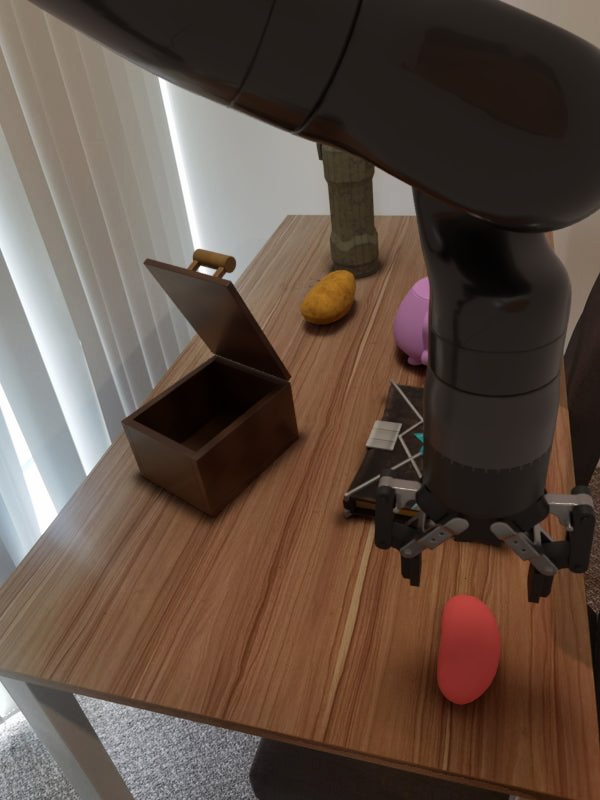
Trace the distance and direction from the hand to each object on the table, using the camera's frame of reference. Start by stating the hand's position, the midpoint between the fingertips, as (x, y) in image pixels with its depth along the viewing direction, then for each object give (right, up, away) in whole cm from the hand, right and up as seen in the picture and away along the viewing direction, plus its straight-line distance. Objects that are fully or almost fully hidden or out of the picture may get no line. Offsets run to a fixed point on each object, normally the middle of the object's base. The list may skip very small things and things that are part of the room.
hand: (473, 584), depth 46 cm
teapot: (+8, +22, +45) cm, 50 cm away
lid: (-23, +23, +23) cm, 40 cm away
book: (+3, +6, +26) cm, 27 cm away
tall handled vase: (-2, +39, +70) cm, 80 cm away
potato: (-8, +28, +57) cm, 64 cm away
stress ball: (+1, -9, +7) cm, 11 cm away
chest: (-23, +7, +31) cm, 40 cm away
